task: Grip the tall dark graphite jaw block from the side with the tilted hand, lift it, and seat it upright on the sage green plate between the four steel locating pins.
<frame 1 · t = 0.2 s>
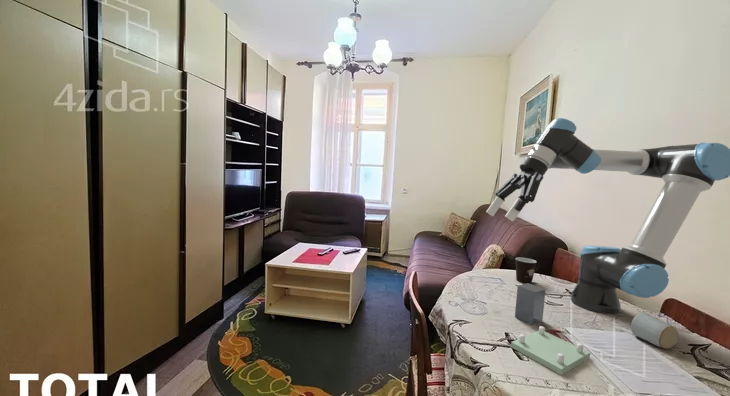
hand: (498, 216, 97), 34 cm above the table, tool tilted 30°, fingers open, 13 cm apart
grey cylinder: (654, 342, 90), on the table
jaw block: (528, 319, 101), on the table
pin plate: (549, 352, 82), on the table
coffee mug: (527, 281, 139), on the table
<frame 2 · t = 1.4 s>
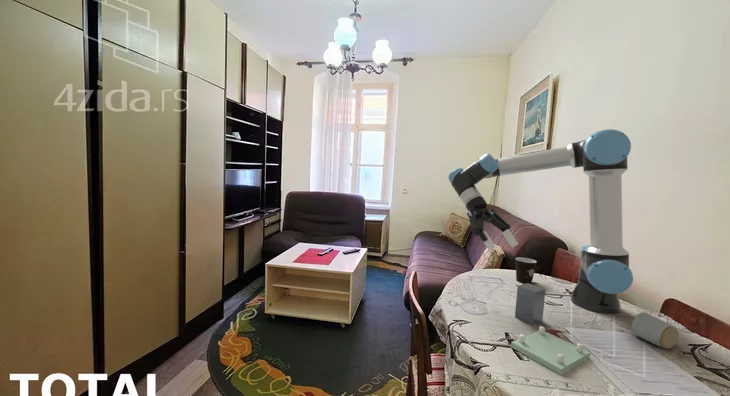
hand: (504, 247, 108), 22 cm above the table, tool tilted 45°, fingers open, 13 cm apart
nothing on the table moved.
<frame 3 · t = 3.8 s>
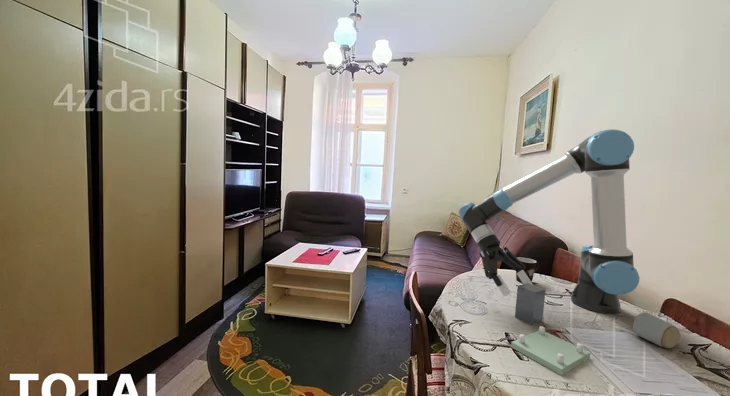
hand: (519, 291, 103), 8 cm above the table, tool tilted 45°, fingers open, 13 cm apart
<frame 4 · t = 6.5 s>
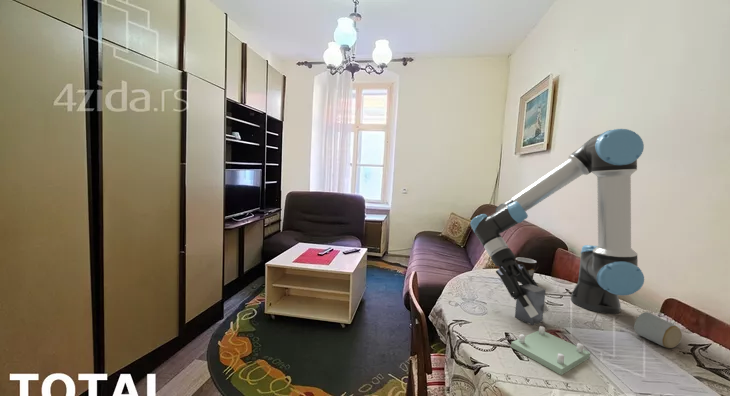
hand: (540, 313, 97), 3 cm above the table, tool tilted 45°, fingers closed on jaw block, 6 cm apart
jaw block: (528, 319, 101), on the table, touching gripper
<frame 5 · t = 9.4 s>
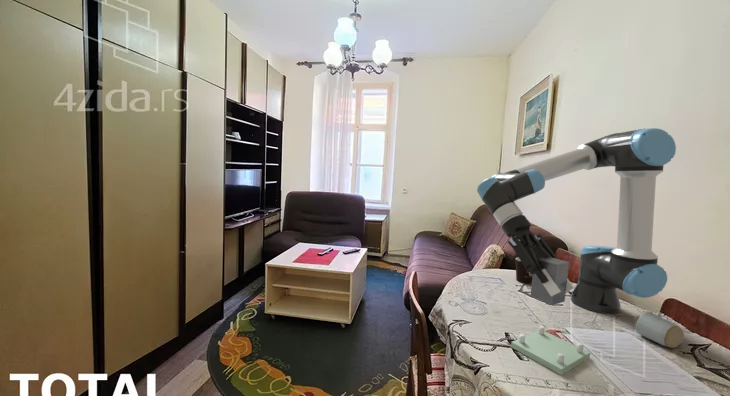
hand: (562, 291, 79), 17 cm above the table, tool tilted 45°, fingers closed on jaw block, 6 cm apart
jaw block: (547, 298, 83), point 14 cm above the table, touching gripper
when the fingers open (6 cm above the table, at t = 12.5 s): jaw block drops 1 cm, resting on pin plate.
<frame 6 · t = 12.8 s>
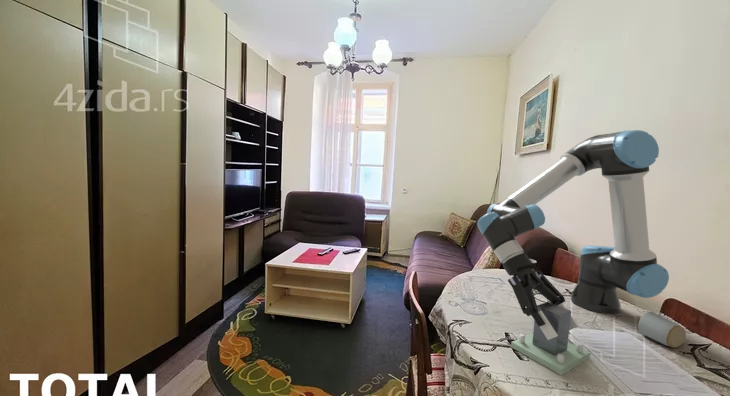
hand: (564, 332, 78), 7 cm above the table, tool tilted 45°, fingers open, 10 cm apart
jaw block: (549, 347, 81), point 1 cm above the table, touching pin plate
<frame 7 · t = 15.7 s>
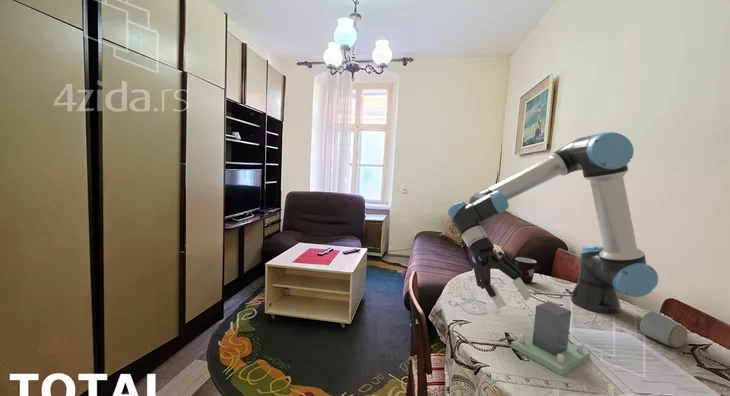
hand: (516, 302, 90), 10 cm above the table, tool tilted 45°, fingers open, 13 cm apart
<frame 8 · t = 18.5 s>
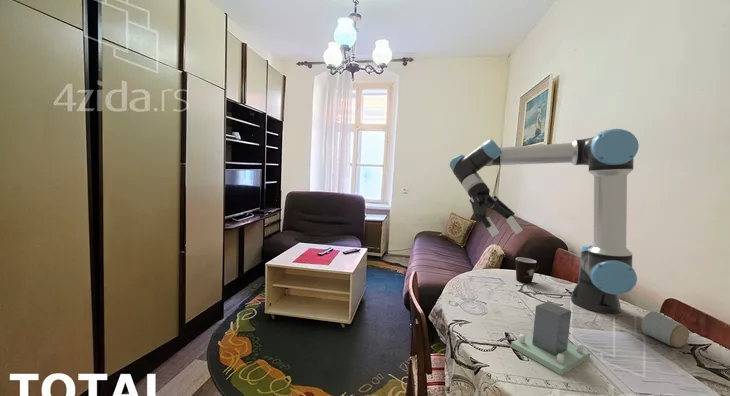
hand: (508, 233, 105), 28 cm above the table, tool tilted 45°, fingers open, 13 cm apart
at the end: jaw block 0.2 cm off-centre on the pin plate, point 1.5 cm above the pin plate's base; jaw block tilted 0°; the gripper is holding nothing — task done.
